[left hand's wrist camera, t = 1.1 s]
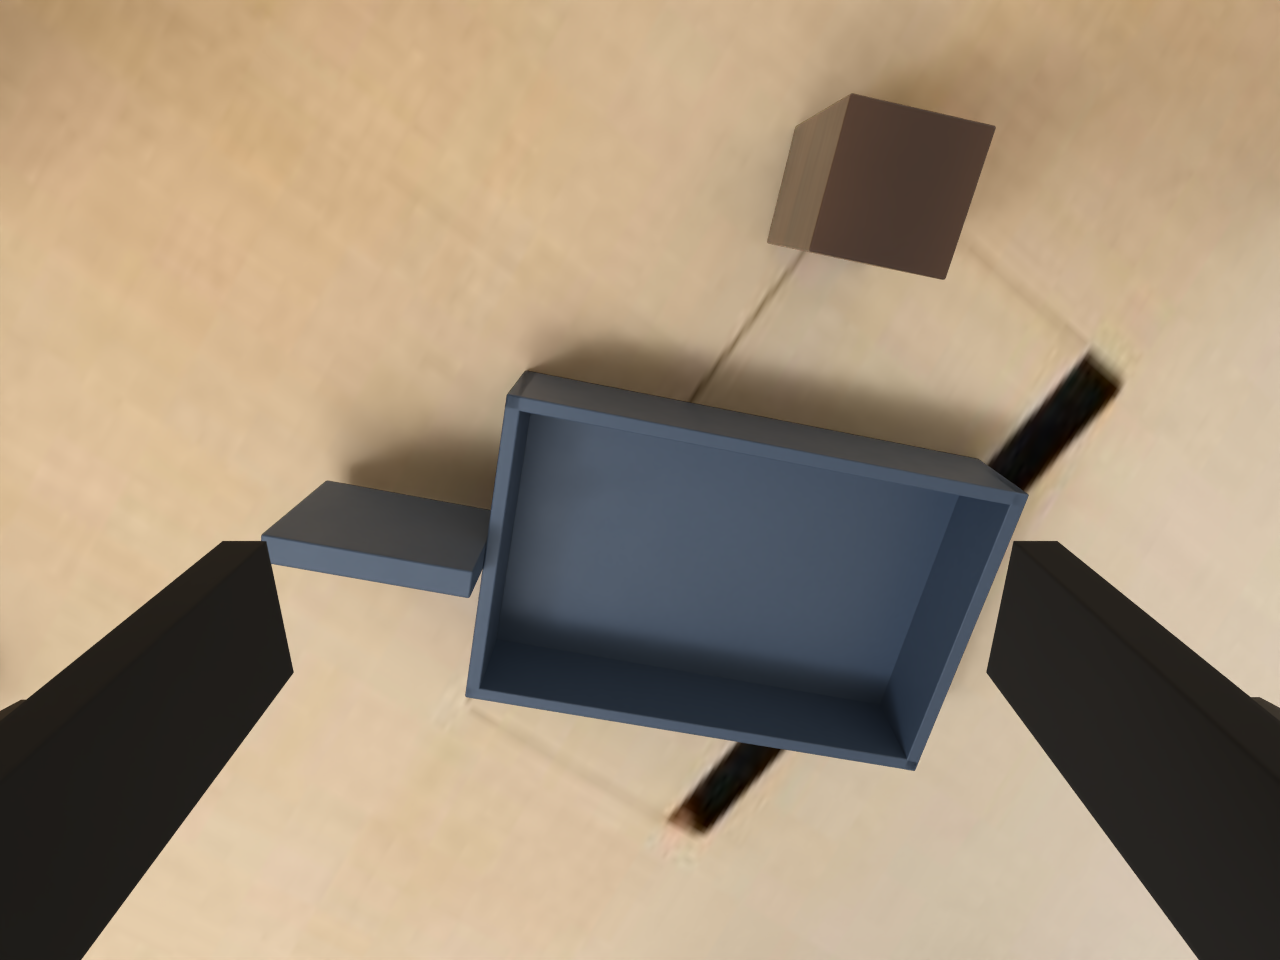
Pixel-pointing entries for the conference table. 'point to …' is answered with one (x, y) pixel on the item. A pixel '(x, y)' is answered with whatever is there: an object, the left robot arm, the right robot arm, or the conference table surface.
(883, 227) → the block
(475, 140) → the conference table surface
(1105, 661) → the left robot arm
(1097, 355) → the conference table surface
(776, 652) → the pan
